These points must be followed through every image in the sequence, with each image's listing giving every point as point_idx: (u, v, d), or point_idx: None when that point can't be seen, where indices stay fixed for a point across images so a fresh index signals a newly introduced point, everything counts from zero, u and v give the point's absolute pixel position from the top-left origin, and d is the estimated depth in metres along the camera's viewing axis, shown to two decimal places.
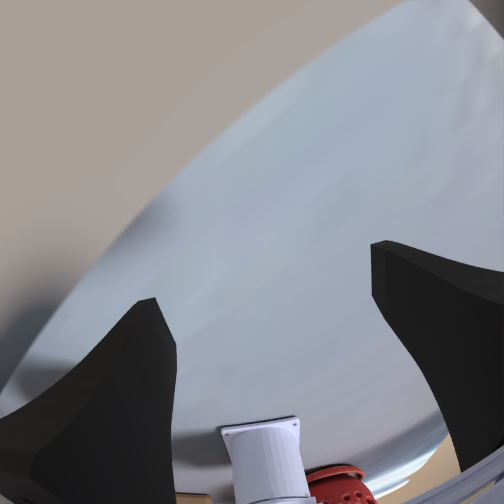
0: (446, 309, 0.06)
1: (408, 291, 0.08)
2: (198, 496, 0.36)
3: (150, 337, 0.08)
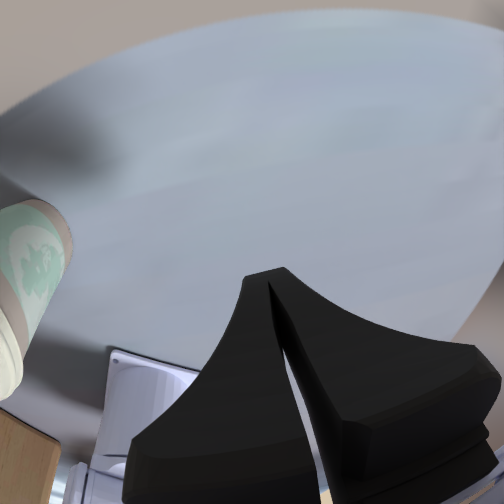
0: (301, 358, 0.06)
1: (285, 328, 0.08)
2: (48, 438, 0.27)
3: (273, 310, 0.08)
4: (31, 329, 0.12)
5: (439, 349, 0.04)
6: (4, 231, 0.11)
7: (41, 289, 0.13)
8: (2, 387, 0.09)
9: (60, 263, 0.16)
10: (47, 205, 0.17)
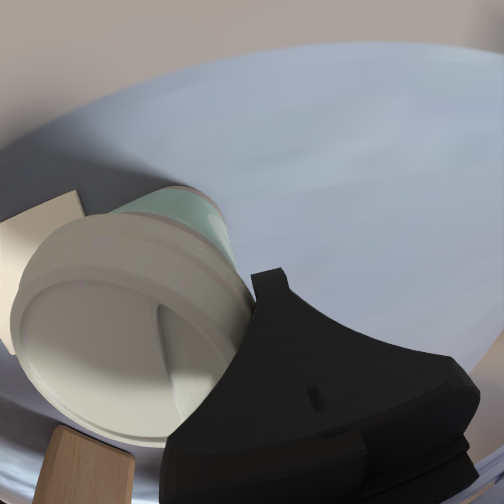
0: None
1: None
2: (122, 452, 0.27)
3: None
4: None
5: (414, 360, 0.04)
6: (202, 218, 0.12)
7: None
8: None
9: None
10: (204, 194, 0.17)
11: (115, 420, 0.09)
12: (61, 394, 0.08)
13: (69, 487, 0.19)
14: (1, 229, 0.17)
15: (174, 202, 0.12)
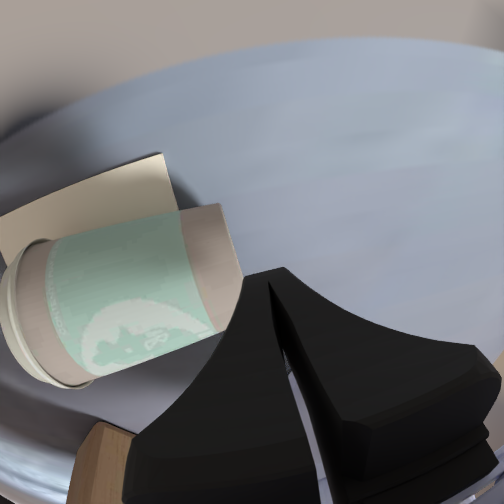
0: (301, 358, 0.06)
1: (285, 328, 0.08)
2: None
3: (273, 310, 0.08)
4: (110, 373, 0.14)
5: (439, 349, 0.04)
6: (94, 303, 0.11)
7: (131, 360, 0.13)
8: None
9: (195, 338, 0.14)
10: (225, 259, 0.12)
11: None
12: None
13: (115, 490, 0.19)
14: (58, 198, 0.16)
15: (97, 270, 0.12)
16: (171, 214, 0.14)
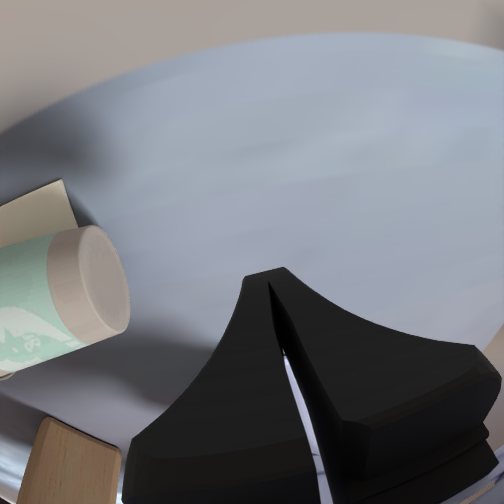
0: (301, 359, 0.06)
1: (285, 328, 0.08)
2: (108, 446, 0.27)
3: (273, 310, 0.08)
4: (13, 370, 0.13)
5: (439, 349, 0.04)
6: None
7: (21, 359, 0.13)
8: None
9: (65, 346, 0.13)
10: (73, 277, 0.12)
11: None
12: None
13: (54, 480, 0.19)
14: None
15: None
16: (50, 235, 0.14)
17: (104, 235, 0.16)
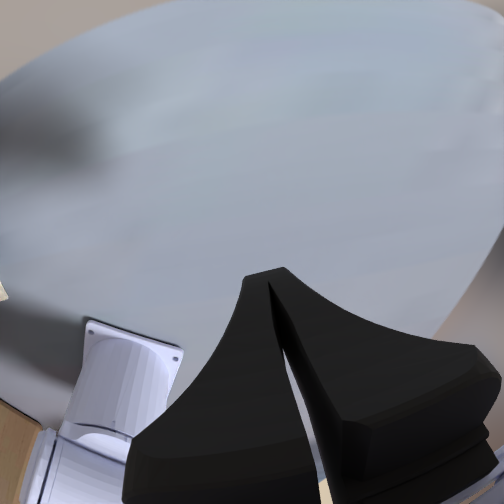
0: (301, 359, 0.06)
1: (285, 328, 0.08)
2: (30, 420, 0.26)
3: (273, 310, 0.08)
4: None
5: (439, 349, 0.04)
6: None
7: None
8: None
9: None
10: None
11: None
12: None
13: None
14: None
15: None
16: None
17: None
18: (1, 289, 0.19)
